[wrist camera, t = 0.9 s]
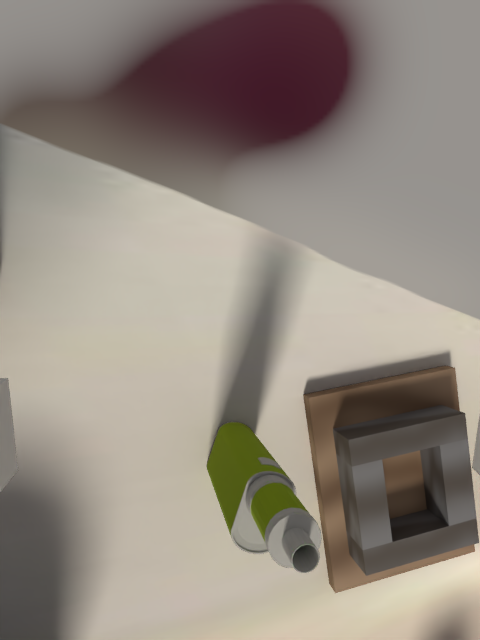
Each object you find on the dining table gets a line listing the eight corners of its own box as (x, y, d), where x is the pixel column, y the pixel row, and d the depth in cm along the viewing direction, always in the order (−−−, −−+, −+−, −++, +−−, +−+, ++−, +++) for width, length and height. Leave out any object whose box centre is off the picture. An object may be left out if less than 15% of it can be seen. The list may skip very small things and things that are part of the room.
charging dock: (465, 543, 50) (500, 571, 45) (329, 583, 47) (351, 617, 42) (445, 365, 48) (479, 373, 43) (303, 394, 45) (322, 406, 40)
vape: (258, 426, 44) (348, 530, 25) (238, 484, 44) (313, 636, 24) (222, 415, 43) (286, 515, 24) (202, 475, 43) (249, 624, 24)
